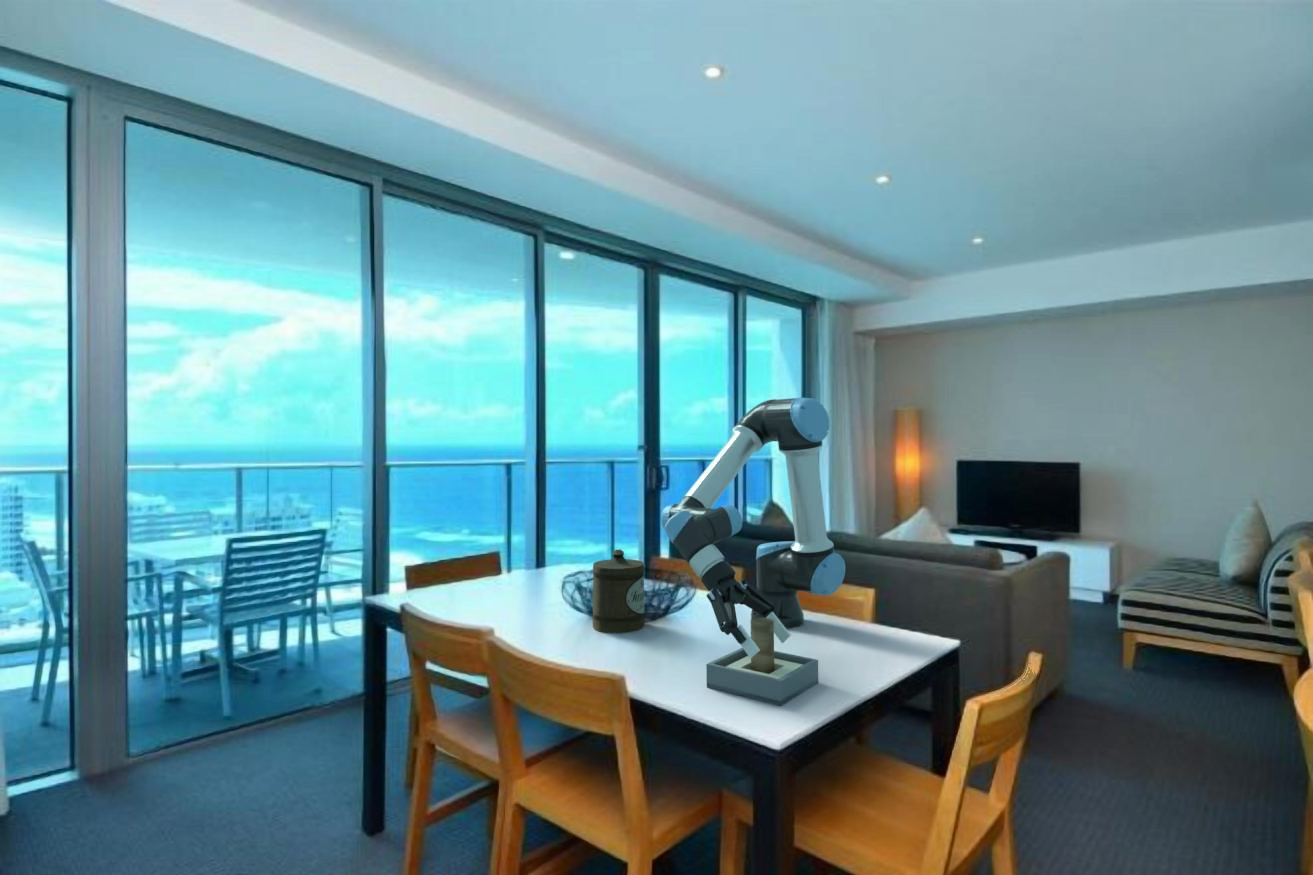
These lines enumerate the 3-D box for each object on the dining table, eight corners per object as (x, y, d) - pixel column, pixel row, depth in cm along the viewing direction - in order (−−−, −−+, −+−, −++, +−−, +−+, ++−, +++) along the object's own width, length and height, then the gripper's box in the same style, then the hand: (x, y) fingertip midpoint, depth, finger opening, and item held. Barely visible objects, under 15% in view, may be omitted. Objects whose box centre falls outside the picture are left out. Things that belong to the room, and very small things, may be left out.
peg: (758, 674, 159) (758, 616, 159) (778, 679, 156) (777, 619, 156) (746, 680, 155) (746, 621, 155) (767, 685, 152) (766, 624, 152)
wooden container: (643, 633, 197) (642, 553, 197) (590, 633, 197) (589, 554, 197) (645, 619, 212) (644, 545, 212) (595, 619, 212) (594, 545, 212)
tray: (747, 666, 168) (747, 645, 168) (818, 682, 157) (818, 659, 157) (706, 687, 155) (706, 664, 155) (780, 706, 144) (780, 681, 144)
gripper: (732, 571, 175) (788, 642, 166) (670, 589, 156) (730, 671, 146) (751, 551, 172) (808, 623, 163) (690, 567, 152) (752, 650, 143)
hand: (771, 646), depth 154 cm, fingers open, 13 cm apart
